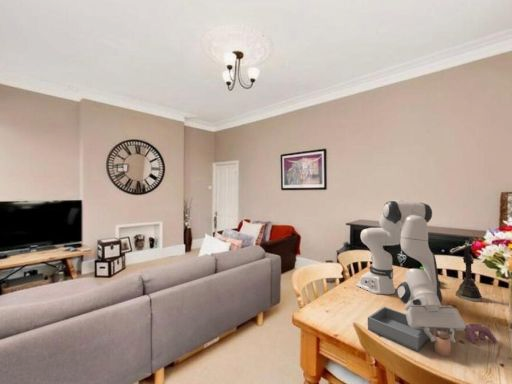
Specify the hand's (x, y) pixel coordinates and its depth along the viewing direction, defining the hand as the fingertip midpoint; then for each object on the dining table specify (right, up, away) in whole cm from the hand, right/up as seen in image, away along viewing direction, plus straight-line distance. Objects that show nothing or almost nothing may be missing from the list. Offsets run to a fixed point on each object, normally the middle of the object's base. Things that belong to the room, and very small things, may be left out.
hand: (443, 341), depth 95 cm
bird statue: (+49, -3, +49) cm, 69 cm away
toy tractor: (+43, -3, +69) cm, 82 cm away
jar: (0, -4, +1) cm, 4 cm away
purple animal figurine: (+21, -4, +8) cm, 23 cm away
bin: (-9, -4, +14) cm, 17 cm away
